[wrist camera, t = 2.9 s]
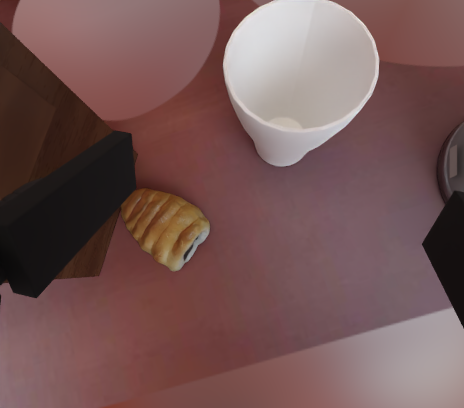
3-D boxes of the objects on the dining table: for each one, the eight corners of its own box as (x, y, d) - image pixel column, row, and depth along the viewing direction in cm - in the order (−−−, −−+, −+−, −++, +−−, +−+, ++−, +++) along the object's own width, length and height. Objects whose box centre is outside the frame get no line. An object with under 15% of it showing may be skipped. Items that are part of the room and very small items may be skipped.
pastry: (113, 225, 33) (95, 220, 29) (150, 176, 34) (137, 164, 30) (181, 275, 32) (172, 276, 28) (218, 222, 32) (214, 216, 29)
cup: (223, 174, 33) (204, 114, 20) (247, 89, 35) (244, -16, 22) (318, 196, 32) (364, 149, 19) (338, 108, 34) (392, 9, 21)
